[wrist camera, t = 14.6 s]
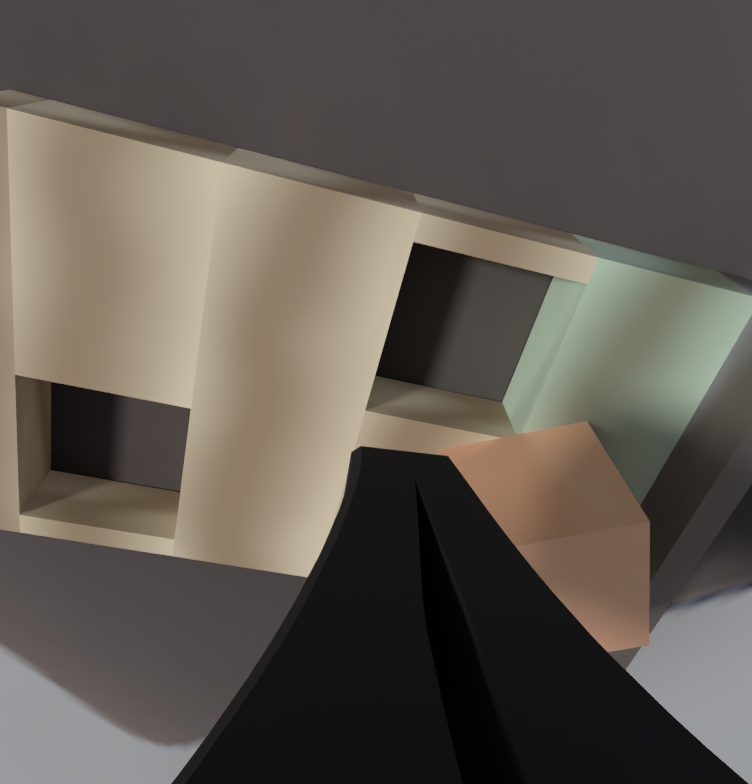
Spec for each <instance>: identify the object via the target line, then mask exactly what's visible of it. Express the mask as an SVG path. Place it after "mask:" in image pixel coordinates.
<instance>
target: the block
mask: <svg viewBox="0 0 752 784" xmlns="http://www.w3.org/2000/svg"><path fill="white" fill-rule="evenodd" d="M440 455H444V456H448V457H449V458H450V459H451V461H452V462H453V463H454V465H455V466H456V467H457V469H458V470H459V471H460V473H461V474H462V475H463V477H464V478H465V480H466V481H467V482H468V484H469V485H470V486H471V488H472V489H473V491H474V492H475V493H476V495H477V496H478V497H479V499H480V500H481V502H482V503H483V504H484V506H485V507H486V508H487V510H488V511H489V512H490V514H491V515H492V516H493V518H494V519H495V520H496V522H497V523H498V524H499V526H500V527H501V528H502V530H503V531H504V532H505V534H506V535H507V536H508V538H509V539H510V540H511V541H512V543H513V544H514V545H515V546H516V548H517V549H518V550H519V551H520V553H521V554H522V555H523V557H524V558H525V559H526V560H527V562H528V563H529V564H530V565H531V567H532V568H533V569H534V570H535V571H536V573H537V574H538V575H539V576H540V577H541V579H542V580H543V581H544V582H545V583H546V585H547V586H548V587H549V588H550V589H551V590H552V592H553V593H554V594H555V595H556V596H557V597H558V598H559V600H560V601H561V602H562V603H563V604H564V605H565V606H566V607H567V609H568V610H569V611H570V612H571V613H572V614H573V615H574V616H575V617H576V619H577V620H578V621H579V622H580V623H581V624H582V625H583V626H584V628H585V629H586V630H587V631H588V632H589V633H590V634H591V635H592V636H593V637H594V639H595V640H596V641H597V642H598V643H599V644H600V645H601V646H602V647H603V648H604V649H605V650H606V651H607V652H612V651H618V650H624V649H630V648H635V647H641V646H647V645H649V597H650V521H649V519H648V518H647V516H646V515H645V513H644V511H643V510H642V508H641V507H640V505H639V503H638V502H637V500H636V499H635V497H634V495H633V494H632V492H631V491H630V489H629V487H628V486H627V484H626V483H625V481H624V479H623V478H622V476H621V475H620V473H619V471H618V470H617V468H616V467H615V465H614V463H613V462H612V460H611V459H610V457H609V455H608V454H607V452H606V451H605V449H604V447H603V446H602V444H601V443H600V441H599V439H598V438H597V436H596V435H595V433H594V431H593V430H592V428H591V427H590V425H589V423H588V422H587V421H584V422H579V423H574V424H569V425H564V426H559V427H554V428H549V429H543V430H538V431H533V432H528V433H523V434H518V435H513V436H508V437H503V438H498V439H493V440H487V441H482V442H477V443H472V444H467V445H462V446H457V447H452V448H447V449H442V450H440Z"/></svg>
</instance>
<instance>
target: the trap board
mask: <svg viewBox="0 0 752 784" xmlns="http://www.w3.org/2000/svg"><path fill="white" fill-rule="evenodd" d="M413 242H416V243H420V244H424V245H428V246H432V247H436V248H440V249H445V250H449V251H453V252H457V253H461V254H465V255H469V256H473V257H477V258H481V259H485V260H490V261H494V262H498V263H502V264H506V265H510V266H514V267H518V268H522V269H526V270H530V271H534V272H539V273H543V274H547V275H551V276H554V277H553V279H552V282H551V284H550V286H549V289H548V291H547V294H546V296H545V299H544V301H543V304H542V306H541V309H540V311H539V314H538V316H537V318H536V321H535V323H534V326H533V328H532V331H531V333H530V336H529V338H528V341H527V343H526V346H525V348H524V350H523V353H522V355H521V358H520V360H519V363H518V365H517V368H516V370H515V373H514V375H513V378H512V380H511V382H510V385H509V387H508V390H507V392H506V395H505V397H504V400H503V402H498V401H493V400H489V399H484V398H479V397H474V396H469V395H465V394H460V393H455V392H450V391H445V390H441V389H436V388H431V387H426V386H422V385H417V384H412V383H407V382H402V381H398V380H393V379H388V378H383V377H378V376H375V375H376V371H377V368H378V364H379V360H380V357H381V353H382V350H383V346H384V343H385V339H386V336H387V332H388V329H389V325H390V322H391V318H392V315H393V311H394V308H395V304H396V301H397V297H398V294H399V290H400V287H401V283H402V280H403V276H404V273H405V269H406V266H407V262H408V259H409V255H410V252H411V248H412V245H413ZM51 382H55V383H60V384H66V385H71V386H76V387H81V388H86V389H92V390H97V391H102V392H107V393H112V394H118V395H123V396H128V397H133V398H138V399H144V400H149V401H154V402H159V403H165V404H170V405H175V406H180V407H185V408H191V412H190V420H189V428H188V436H187V444H186V452H185V459H184V467H183V475H182V483H181V491H180V492H175V491H170V490H164V489H158V488H152V487H146V486H140V485H135V484H129V483H123V482H117V481H111V480H105V479H100V478H94V477H88V476H82V475H76V474H71V473H65V472H59V471H53V470H51ZM584 421H587V422H588V423H589V425H590V427H591V428H592V430H593V431H594V433H595V435H596V436H597V438H598V439H599V441H600V443H601V444H602V446H603V447H604V449H605V451H606V452H607V454H608V455H609V457H610V459H611V460H612V462H613V463H614V465H615V467H616V468H617V470H618V471H619V473H620V475H621V476H622V478H623V479H624V481H625V483H626V484H627V486H628V487H629V489H630V491H631V492H632V494H633V495H634V497H635V499H636V500H637V502H638V503H639V505H640V507H641V508H642V510H643V511H644V513H645V515H646V516H647V518H648V519H649V521H650V597H649V634H650V633H651V631H652V630H653V629H654V627H655V626H656V624H657V623H658V621H659V620H660V618H661V617H662V615H663V614H664V612H665V611H666V610H667V608H668V607H669V605H670V604H671V602H672V601H673V599H674V598H675V596H676V595H677V593H678V592H679V590H680V589H681V587H682V586H683V585H684V583H685V582H686V580H687V579H688V577H689V576H690V574H691V573H692V571H693V570H694V568H695V567H696V565H697V564H698V563H699V561H700V560H701V558H702V557H703V555H704V554H705V552H706V551H707V549H708V548H709V546H710V545H711V543H712V542H713V540H714V539H715V538H716V536H717V535H718V533H719V532H720V530H721V529H722V527H723V526H724V524H725V523H726V521H727V520H728V518H729V517H730V516H731V514H732V513H733V511H734V510H735V508H736V507H737V505H738V504H739V502H740V501H741V499H742V498H743V496H744V495H745V493H746V492H747V491H748V489H749V488H750V486H751V485H752V281H750V280H749V279H746V278H742V277H738V276H734V275H730V274H727V273H723V272H719V271H715V270H711V269H707V268H703V267H699V266H695V265H692V264H688V263H684V262H680V261H676V260H672V259H668V258H664V257H660V256H657V255H653V254H649V253H645V252H641V251H637V250H633V249H629V248H625V247H622V246H618V245H614V244H610V243H606V242H602V241H598V240H594V239H590V238H587V237H583V236H579V235H575V234H571V233H567V232H563V231H559V230H555V229H552V228H548V227H544V226H540V225H536V224H532V223H528V222H524V221H520V220H517V219H513V218H509V217H505V216H501V215H497V214H493V213H489V212H485V211H481V210H478V209H474V208H470V207H466V206H462V205H458V204H454V203H450V202H446V201H443V200H439V199H435V198H431V197H427V196H423V195H419V194H415V193H411V192H408V191H404V190H400V189H396V188H392V187H388V186H384V185H380V184H376V183H373V182H369V181H365V180H361V179H357V178H353V177H349V176H345V175H341V174H338V173H334V172H330V171H326V170H322V169H318V168H314V167H310V166H306V165H303V164H299V163H295V162H291V161H287V160H283V159H279V158H275V157H271V156H268V155H264V154H260V153H256V152H252V151H248V150H244V149H240V148H236V147H233V146H229V145H225V144H221V143H217V142H213V141H209V140H205V139H201V138H197V137H194V136H190V135H186V134H182V133H178V132H174V131H170V130H166V129H162V128H159V127H155V126H151V125H147V124H143V123H139V122H135V121H131V120H127V119H124V118H120V117H116V116H112V115H108V114H104V113H100V112H96V111H92V110H89V109H85V108H81V107H77V106H73V105H69V104H65V103H61V102H57V101H54V100H50V99H46V98H42V97H38V96H34V95H30V94H26V93H22V92H19V91H15V90H6V91H0V529H1V530H8V531H14V532H21V533H27V534H33V535H40V536H46V537H53V538H59V539H65V540H72V541H78V542H85V543H91V544H97V545H104V546H110V547H117V548H123V549H130V550H136V551H142V552H149V553H155V554H162V555H168V556H174V557H181V558H187V559H194V560H200V561H206V562H213V563H219V564H226V565H232V566H238V567H245V568H251V569H258V570H264V571H271V572H277V573H283V574H290V575H296V576H303V577H308V576H309V574H310V572H311V570H312V568H313V566H314V564H315V562H316V561H317V559H318V557H319V555H320V553H321V551H322V548H323V546H324V544H325V542H326V539H327V537H328V535H329V532H330V530H331V528H332V525H333V523H334V521H335V518H336V516H337V513H338V511H339V509H340V506H341V503H342V500H343V497H344V492H345V486H346V480H347V474H348V469H349V463H350V457H351V452H352V451H354V450H355V449H357V448H359V447H360V446H365V447H374V448H383V449H391V450H400V451H409V452H418V453H427V454H435V455H440V450H442V449H447V448H452V447H457V446H462V445H467V444H472V443H477V442H482V441H487V440H493V439H498V438H503V437H508V436H513V435H518V434H523V433H528V432H533V431H538V430H543V429H549V428H554V427H559V426H564V425H569V424H574V423H579V422H584ZM640 648H641V647H635V648H630V649H624V650H618V651H612V652H608V653H609V654H610V655H611V656H612V657H613V658H614V659H615V660H616V661H617V662H618V663H619V664H620V665H621V666H622V667H623V668H624V669H625V670H626V668H627V667H628V665H629V664H630V662H631V661H632V659H633V658H634V657H635V655H636V653H637V652H638V650H639V649H640Z"/></svg>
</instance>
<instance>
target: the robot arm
mask: <svg viewBox="0 0 752 784" xmlns="http://www.w3.org/2000/svg"><path fill="white" fill-rule="evenodd" d="M172 784H748V783H747V782H746V781H744V780H743V779H742V778H741V777H740V776H739V775H737V773H735V772H734V771H733V770H732V769H731V768H729V767H728V766H727V765H726V764H725V763H724V762H723V761H721V760H720V759H719V758H718V757H717V756H716V755H715V754H713V753H712V752H711V751H710V750H709V749H707V747H705V746H704V745H703V744H702V743H701V742H700V741H699V740H698V739H697V738H696V737H695V736H693V735H692V734H691V733H690V732H689V731H688V730H687V729H686V728H685V727H684V726H683V725H681V724H680V723H679V722H678V721H677V720H676V719H675V718H674V717H673V716H672V715H671V714H670V713H668V712H667V711H666V710H665V709H664V708H663V707H662V706H661V705H660V704H659V703H658V702H657V701H656V700H655V699H654V698H653V697H652V696H651V695H650V694H649V693H648V692H647V691H646V690H645V689H644V688H643V687H642V686H641V685H640V684H639V683H638V682H637V681H636V680H635V679H634V678H633V677H632V676H631V675H630V674H629V673H628V672H627V671H626V670H625V669H624V668H623V667H622V666H621V665H620V664H619V663H618V662H617V661H616V660H615V659H614V658H613V657H612V656H611V655H610V654H609V653H608V652H607V651H606V650H605V649H604V648H603V647H602V646H601V645H600V644H599V643H598V642H597V641H596V640H595V639H594V637H593V636H592V635H591V634H590V633H589V632H588V631H587V630H586V629H585V628H584V626H583V625H582V624H581V623H580V622H579V621H578V620H577V619H576V617H575V616H574V615H573V614H572V613H571V612H570V611H569V610H568V609H567V607H566V606H565V605H564V604H563V603H562V602H561V601H560V600H559V598H558V597H557V596H556V595H555V594H554V593H553V592H552V590H551V589H550V588H549V587H548V586H547V585H546V583H545V582H544V581H543V580H542V579H541V577H540V576H539V575H538V574H537V573H536V571H535V570H534V569H533V568H532V567H531V565H530V564H529V563H528V562H527V560H526V559H525V558H524V557H523V555H522V554H521V553H520V551H519V550H518V549H517V548H516V546H515V545H514V544H513V543H512V541H511V540H510V539H509V538H508V536H507V535H506V534H505V532H504V531H503V530H502V528H501V527H500V526H499V524H498V523H497V522H496V520H495V519H494V518H493V516H492V515H491V514H490V512H489V511H488V510H487V508H486V507H485V506H484V504H483V503H482V502H481V500H480V499H479V497H478V496H477V495H476V493H475V492H474V491H473V489H472V488H471V486H470V485H469V484H468V482H467V481H466V480H465V478H464V477H463V475H462V474H461V473H460V471H459V470H458V469H457V467H456V466H455V465H454V463H453V462H452V461H451V459H450V458H449V457H448V456H444V455H435V454H427V453H418V452H409V451H400V450H391V449H383V448H374V447H365V446H360V447H359V448H357V449H355V450H354V451H352V452H351V457H350V463H349V469H348V474H347V480H346V486H345V492H344V497H343V500H342V503H341V506H340V509H339V511H338V513H337V516H336V518H335V521H334V523H333V525H332V528H331V530H330V532H329V535H328V537H327V539H326V542H325V544H324V546H323V548H322V551H321V553H320V555H319V557H318V559H317V561H316V562H315V564H314V566H313V568H312V570H311V572H310V574H309V576H308V578H307V580H306V582H305V583H304V585H303V587H302V589H301V591H300V593H299V595H298V597H297V599H296V601H295V602H294V604H293V606H292V608H291V609H290V611H289V613H288V614H287V616H286V618H285V620H284V621H283V623H282V625H281V626H280V628H279V630H278V631H277V633H276V635H275V636H274V638H273V640H272V641H271V643H270V644H269V646H268V647H267V649H266V651H265V652H264V654H263V655H262V657H261V658H260V660H259V662H258V663H257V665H256V666H255V668H254V669H253V671H252V672H251V674H250V675H249V677H248V678H247V680H246V681H245V683H244V684H243V686H242V687H241V689H240V690H239V691H238V693H237V694H236V696H235V697H234V699H233V700H232V701H231V703H230V704H229V706H228V707H227V709H226V710H225V711H224V713H223V714H222V716H221V717H220V719H219V720H218V722H217V723H216V724H215V726H214V727H213V729H212V730H211V732H210V733H209V734H208V736H207V737H206V738H205V740H204V741H203V743H202V744H201V745H200V747H199V748H198V749H197V751H196V752H195V753H194V755H193V756H192V757H191V759H190V760H189V761H188V763H187V764H186V765H185V767H184V768H183V769H182V771H181V772H180V774H179V775H178V776H177V777H176V779H175V780H174V781H173V782H172Z"/></svg>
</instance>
